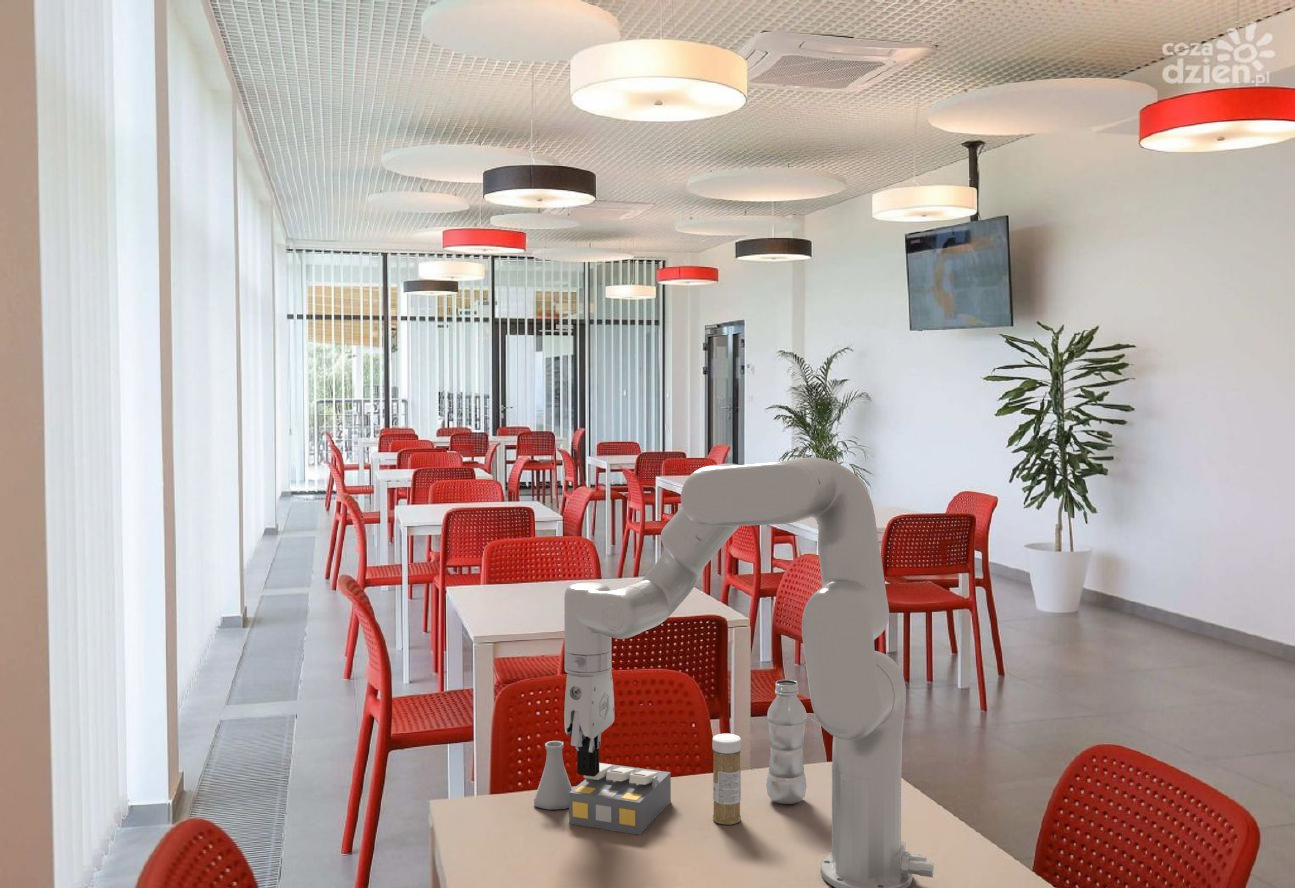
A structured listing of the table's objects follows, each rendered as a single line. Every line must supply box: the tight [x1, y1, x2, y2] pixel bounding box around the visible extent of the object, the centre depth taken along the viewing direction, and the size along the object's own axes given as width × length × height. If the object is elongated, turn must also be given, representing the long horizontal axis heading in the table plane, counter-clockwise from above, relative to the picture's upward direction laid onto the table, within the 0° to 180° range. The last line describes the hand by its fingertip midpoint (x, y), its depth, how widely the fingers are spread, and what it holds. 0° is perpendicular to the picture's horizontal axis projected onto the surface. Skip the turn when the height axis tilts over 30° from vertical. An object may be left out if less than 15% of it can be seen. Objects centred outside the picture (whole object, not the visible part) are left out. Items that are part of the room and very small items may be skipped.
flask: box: [533, 740, 574, 810], centre depth 174 cm, size 7×7×10 cm
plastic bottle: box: [766, 679, 808, 805], centre depth 174 cm, size 6×7×20 cm
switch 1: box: [583, 762, 614, 780], centre depth 171 cm, size 3×6×1 cm, turn 159°
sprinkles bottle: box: [711, 732, 742, 825], centre depth 166 cm, size 5×5×14 cm
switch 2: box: [606, 767, 636, 781], centre depth 170 cm, size 3×6×1 cm, turn 159°
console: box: [568, 764, 672, 836], centre depth 170 cm, size 12×14×7 cm
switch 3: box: [629, 770, 658, 785], centre depth 168 cm, size 3×6×1 cm, turn 159°
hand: (588, 773), depth 168 cm, fingers closed
